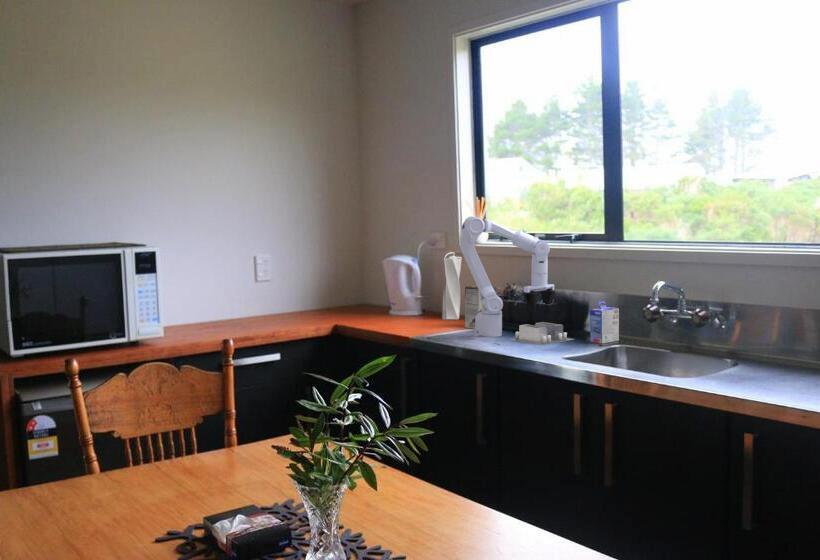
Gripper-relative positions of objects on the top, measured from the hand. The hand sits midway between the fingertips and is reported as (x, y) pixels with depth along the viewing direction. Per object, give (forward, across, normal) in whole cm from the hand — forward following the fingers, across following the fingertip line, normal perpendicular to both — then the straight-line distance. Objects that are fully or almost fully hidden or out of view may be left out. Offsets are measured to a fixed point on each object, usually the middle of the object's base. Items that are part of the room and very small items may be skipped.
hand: (539, 311), depth 285 cm
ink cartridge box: (+10, +6, -24) cm, 27 cm away
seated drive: (+8, -4, -8) cm, 12 cm away
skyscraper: (+10, +9, +55) cm, 57 cm away
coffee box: (+10, 0, +31) cm, 32 cm away
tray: (+9, -8, -8) cm, 15 cm away
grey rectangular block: (+8, -12, -8) cm, 17 cm away
